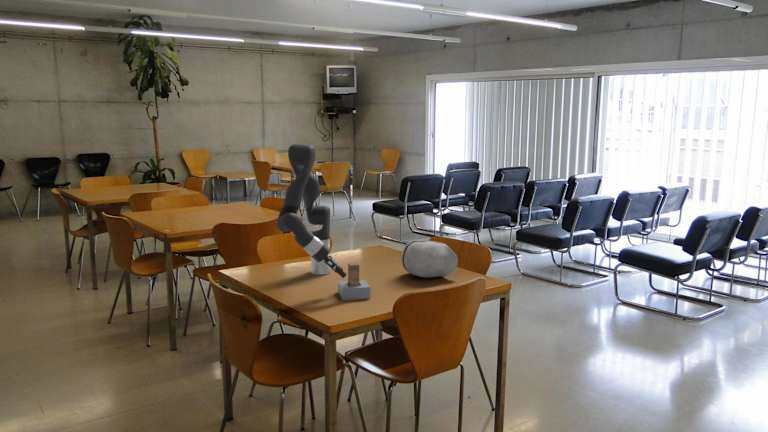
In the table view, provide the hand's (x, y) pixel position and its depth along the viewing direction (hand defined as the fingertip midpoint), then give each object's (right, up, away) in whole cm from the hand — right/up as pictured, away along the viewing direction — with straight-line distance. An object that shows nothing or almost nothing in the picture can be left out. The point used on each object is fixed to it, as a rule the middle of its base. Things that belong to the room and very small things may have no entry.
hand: (343, 273), depth 260 cm
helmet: (+40, -5, +37) cm, 55 cm away
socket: (+4, -10, +3) cm, 11 cm away
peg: (+4, -10, +3) cm, 11 cm away
